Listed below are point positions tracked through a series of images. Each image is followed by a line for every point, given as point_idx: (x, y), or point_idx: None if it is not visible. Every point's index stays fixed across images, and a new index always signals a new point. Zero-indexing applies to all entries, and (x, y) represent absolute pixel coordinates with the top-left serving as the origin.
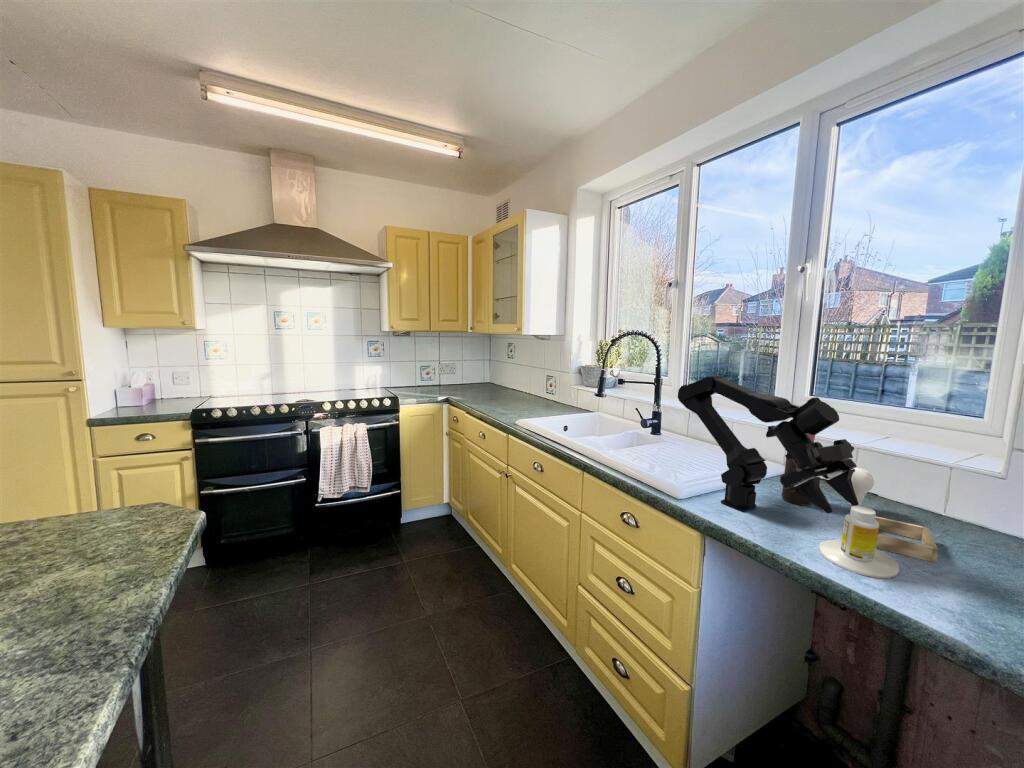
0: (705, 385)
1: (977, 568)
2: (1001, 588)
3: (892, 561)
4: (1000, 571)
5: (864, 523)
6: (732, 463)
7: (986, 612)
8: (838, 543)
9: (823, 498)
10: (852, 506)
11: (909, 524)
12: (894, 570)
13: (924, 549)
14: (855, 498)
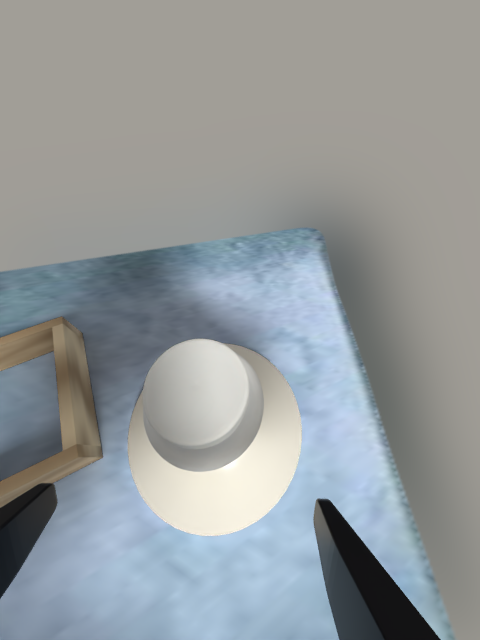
0: None
1: (50, 295)
2: (111, 265)
3: None
4: (35, 278)
5: (247, 368)
6: None
7: (214, 257)
8: (182, 495)
9: (417, 619)
10: (200, 440)
11: None
12: None
13: (69, 338)
14: (7, 515)
